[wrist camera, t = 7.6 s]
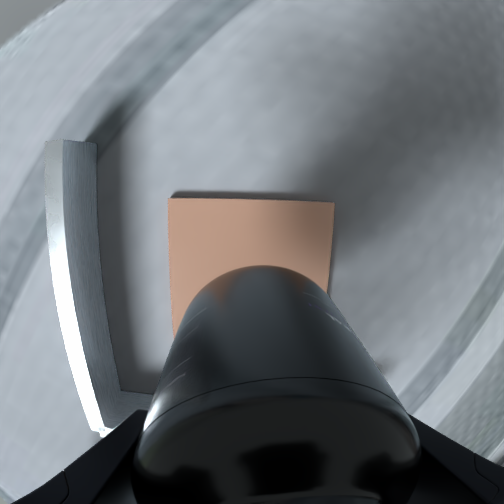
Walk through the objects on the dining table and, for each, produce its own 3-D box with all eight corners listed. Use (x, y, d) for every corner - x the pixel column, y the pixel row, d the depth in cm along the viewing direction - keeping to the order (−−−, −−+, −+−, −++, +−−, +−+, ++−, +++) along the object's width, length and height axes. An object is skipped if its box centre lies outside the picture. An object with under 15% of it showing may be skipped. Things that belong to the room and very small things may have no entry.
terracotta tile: (317, 344, 22) (319, 348, 22) (175, 343, 22) (174, 347, 21) (332, 202, 20) (334, 203, 19) (169, 197, 19) (168, 198, 19)
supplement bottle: (361, 287, 13) (557, 512, 2) (300, 407, 15) (356, 630, 3) (205, 235, 13) (69, 584, 1) (164, 373, 14) (99, 623, 2)
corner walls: (349, 404, 24) (365, 441, 20) (110, 399, 23) (93, 435, 19) (386, 151, 19) (421, 149, 15) (81, 144, 18) (45, 141, 14)
